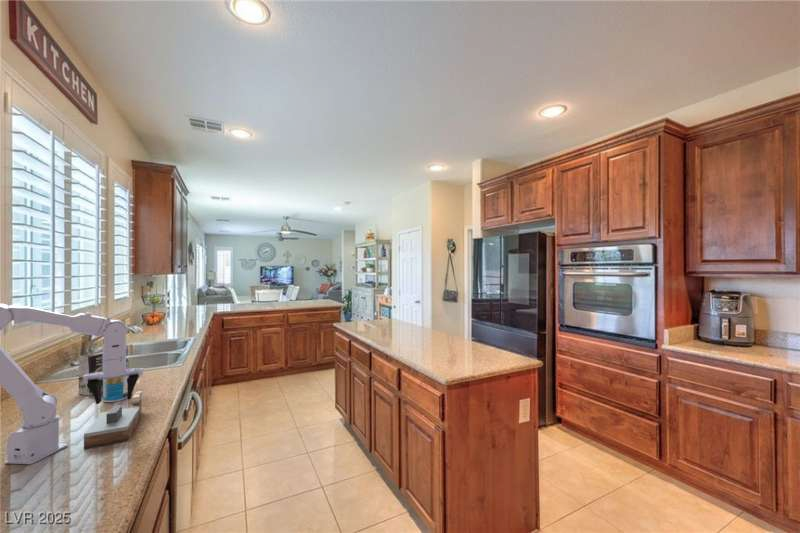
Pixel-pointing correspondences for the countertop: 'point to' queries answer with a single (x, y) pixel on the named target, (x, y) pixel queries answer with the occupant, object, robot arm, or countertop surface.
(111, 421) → the lid
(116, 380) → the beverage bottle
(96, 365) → the coffee box
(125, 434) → the brown angular frame
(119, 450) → the countertop surface
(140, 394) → the block
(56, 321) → the robot arm
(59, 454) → the countertop surface
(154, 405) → the countertop surface
